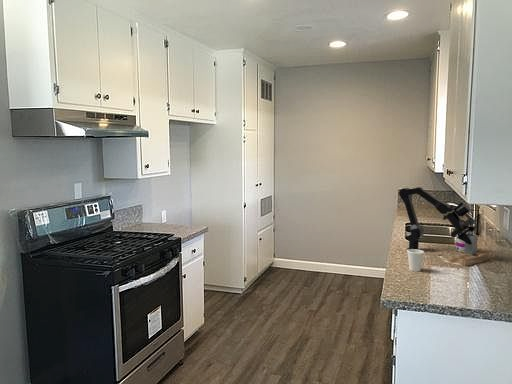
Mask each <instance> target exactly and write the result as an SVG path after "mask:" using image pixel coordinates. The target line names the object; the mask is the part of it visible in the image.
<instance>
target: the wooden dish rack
mask: <svg viewBox="0 0 512 384" xmlns="http://www.w3.org/2000/svg"><path fill="white" fill-rule="evenodd" d="M485 261H489V253H480V254H479V253H476V254H474V255H470V254H465V253H463V252H459V253H457V254H456V253H454V254H453V256H451V255H446V258H445V259H442V260H441V261H440V262H446V263H450V264H454V265H458V266H461V267H468V266H471V265H475V264H479V263H482V262H485Z"/></svg>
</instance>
